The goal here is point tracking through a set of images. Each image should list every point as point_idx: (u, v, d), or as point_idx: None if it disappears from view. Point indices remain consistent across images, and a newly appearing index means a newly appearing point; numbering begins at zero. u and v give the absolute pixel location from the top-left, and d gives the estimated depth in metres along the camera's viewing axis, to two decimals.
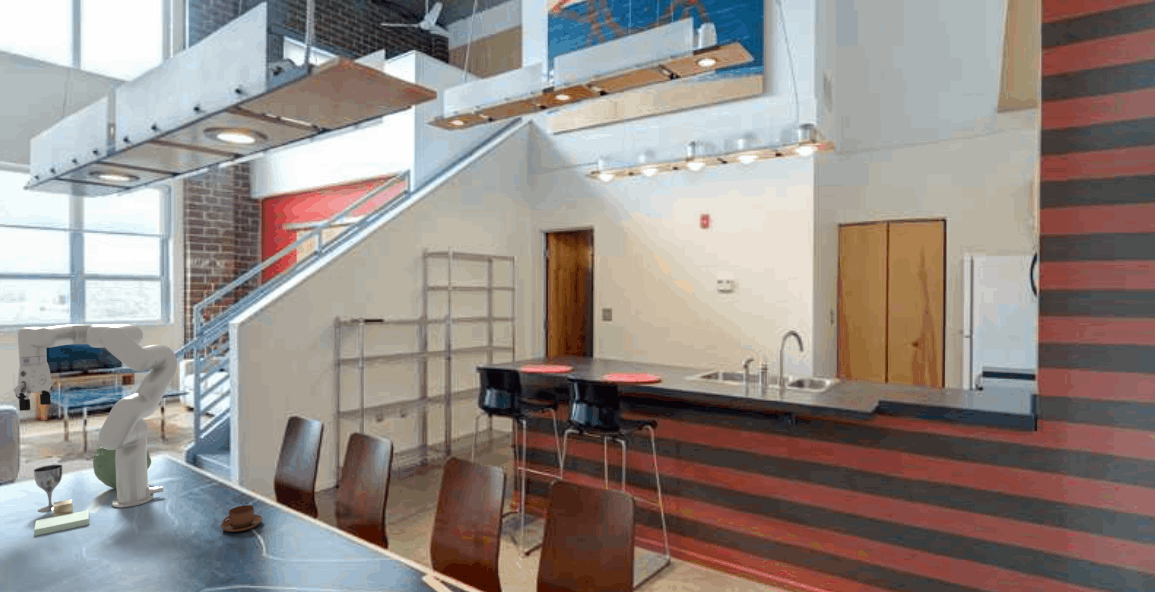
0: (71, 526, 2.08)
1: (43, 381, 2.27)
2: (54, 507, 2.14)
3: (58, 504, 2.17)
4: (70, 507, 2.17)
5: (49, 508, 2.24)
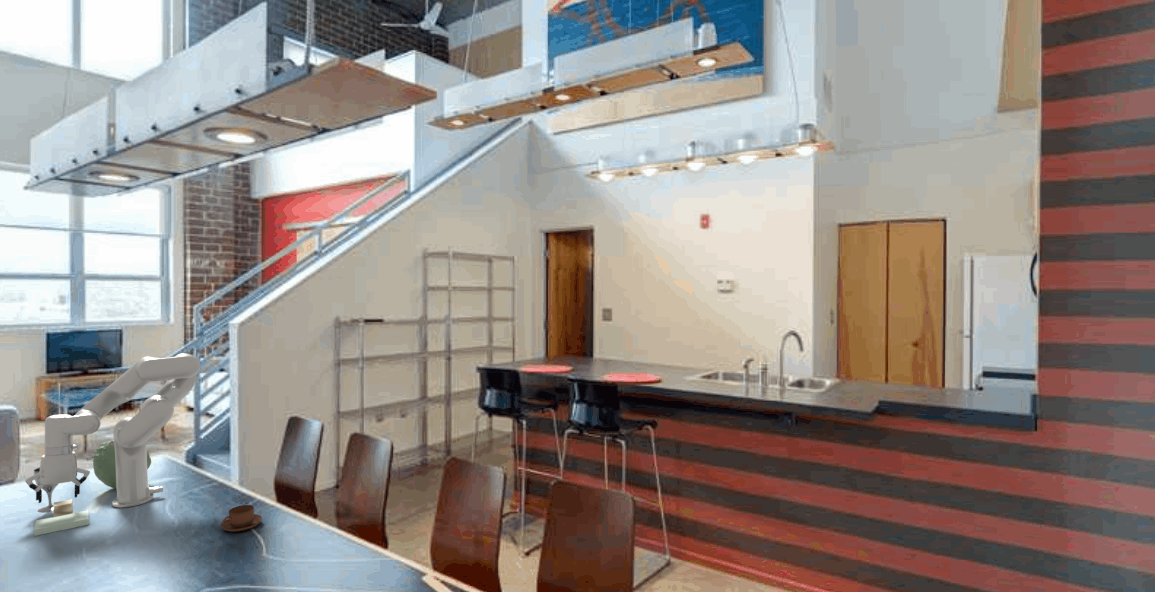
0: (71, 526, 2.08)
1: None
2: (54, 507, 2.14)
3: (58, 504, 2.17)
4: (70, 507, 2.17)
5: (49, 508, 2.24)
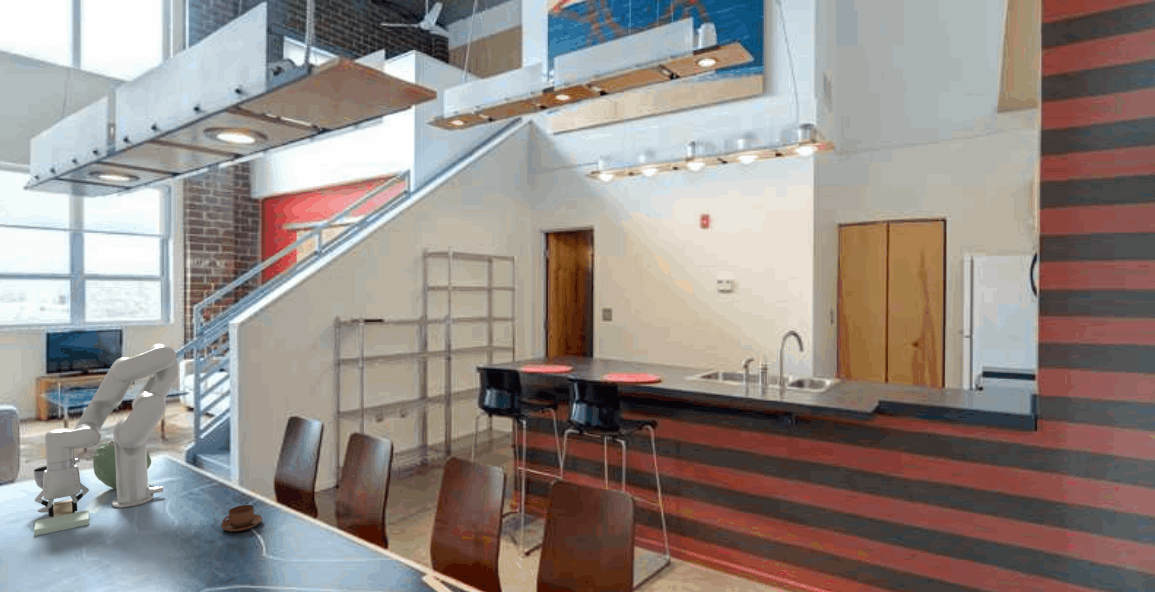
0: (71, 526, 2.08)
1: None
2: (54, 507, 2.14)
3: (58, 503, 2.17)
4: (70, 507, 2.17)
5: None
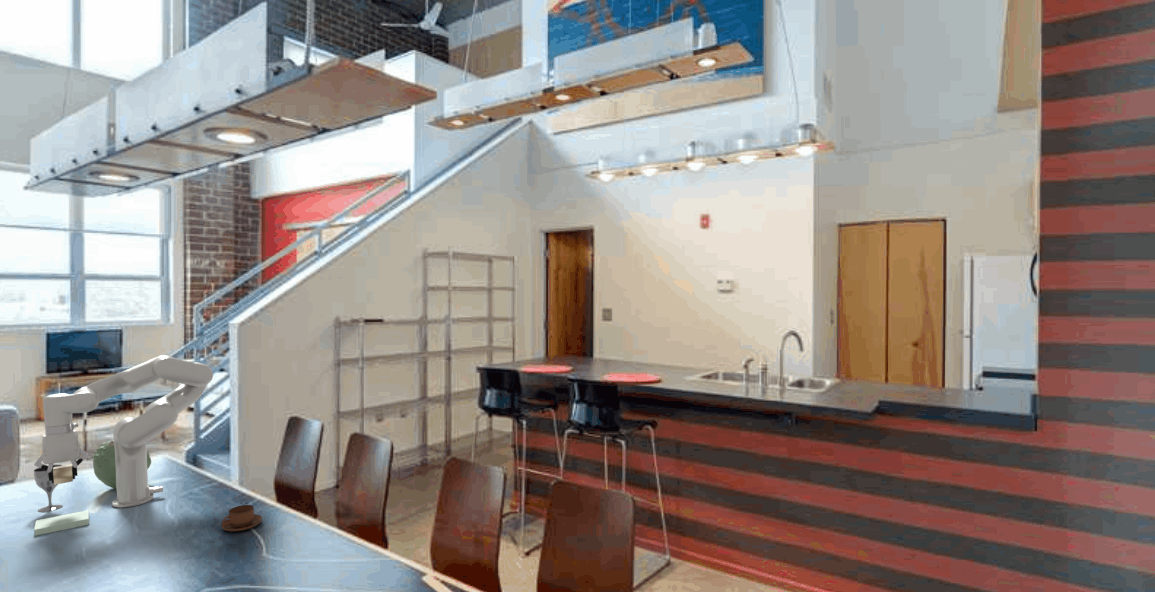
0: (71, 526, 2.08)
1: None
2: (54, 471, 2.14)
3: (58, 468, 2.16)
4: (70, 471, 2.17)
5: (49, 508, 2.24)
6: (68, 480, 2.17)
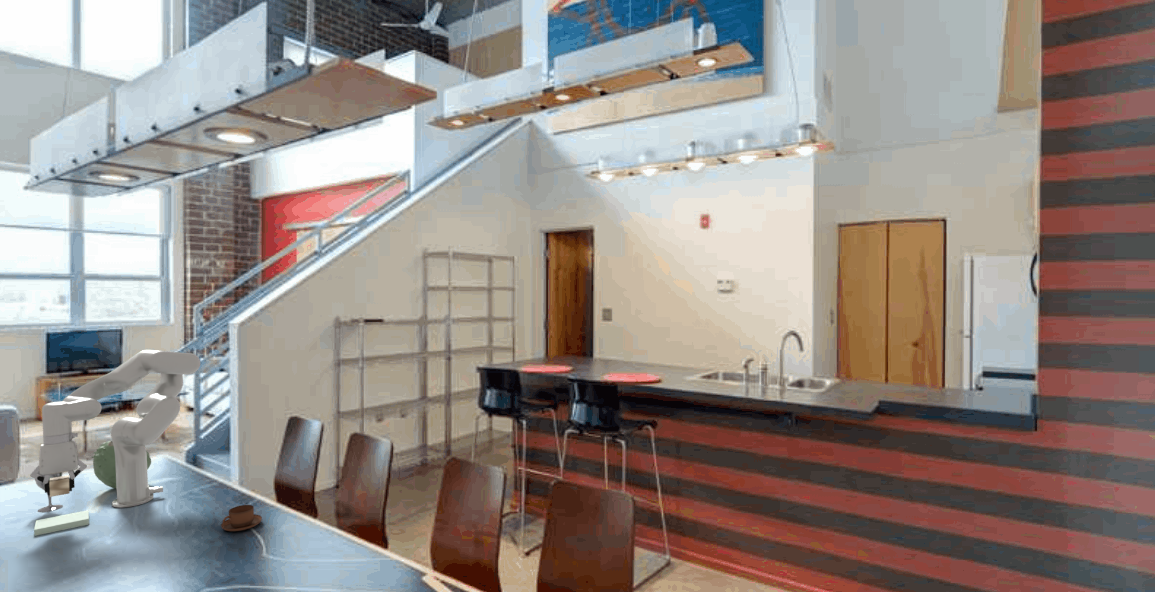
0: (71, 526, 2.08)
1: None
2: (50, 482, 2.06)
3: (55, 479, 2.08)
4: (67, 483, 2.09)
5: (49, 508, 2.24)
6: (65, 492, 2.08)
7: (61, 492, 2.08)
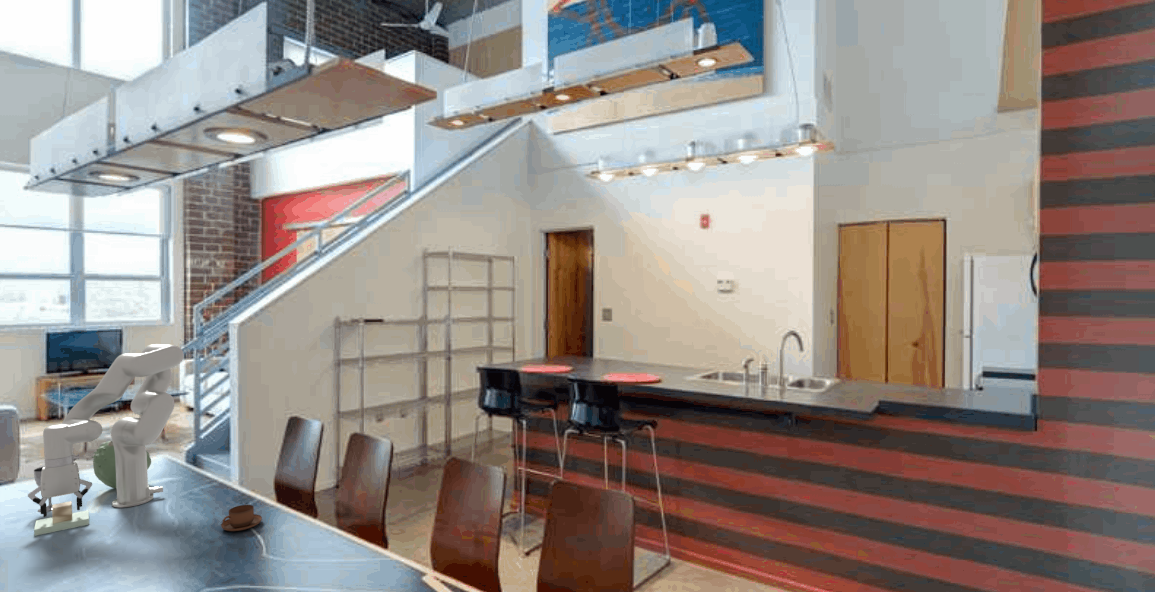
0: (71, 526, 2.08)
1: None
2: (53, 509, 2.07)
3: (57, 506, 2.09)
4: (69, 509, 2.09)
5: (49, 508, 2.24)
6: (67, 518, 2.09)
7: (64, 519, 2.08)
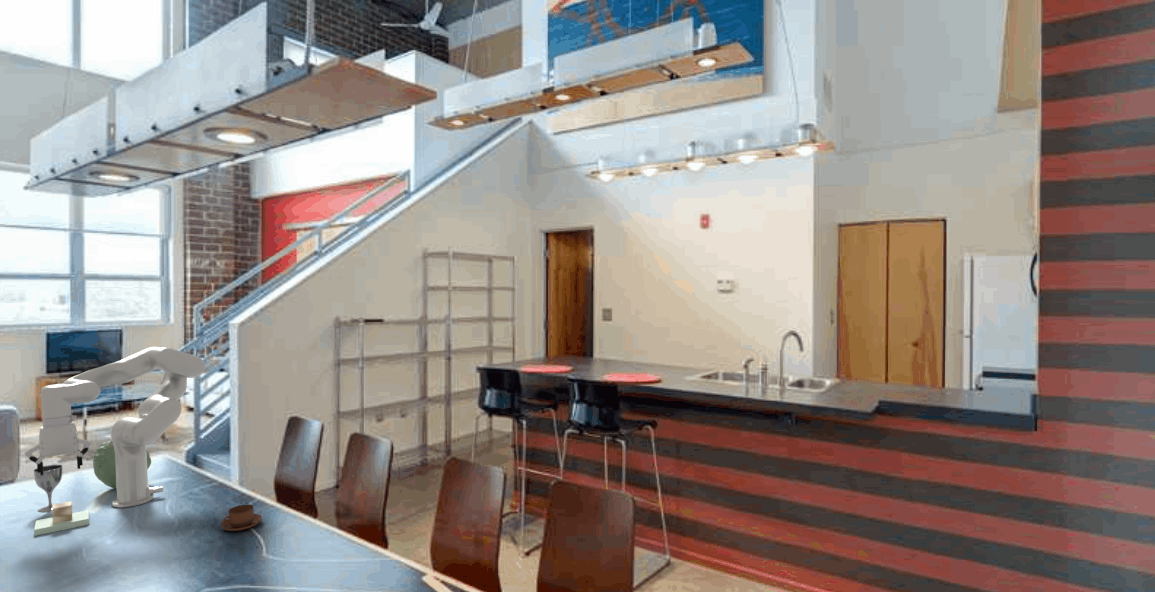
0: (71, 526, 2.08)
1: None
2: (53, 509, 2.07)
3: (57, 506, 2.09)
4: (69, 509, 2.09)
5: (49, 508, 2.24)
6: (67, 518, 2.09)
7: (64, 519, 2.08)
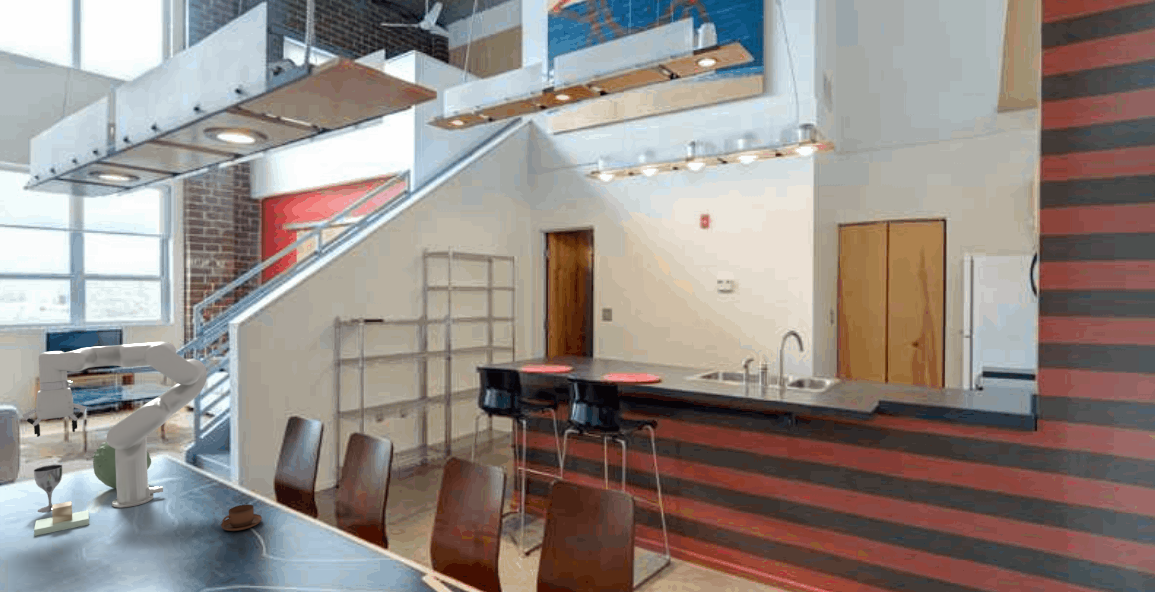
0: (71, 526, 2.08)
1: None
2: (53, 509, 2.07)
3: (57, 506, 2.09)
4: (69, 509, 2.09)
5: (49, 508, 2.24)
6: (67, 518, 2.09)
7: (64, 519, 2.08)
